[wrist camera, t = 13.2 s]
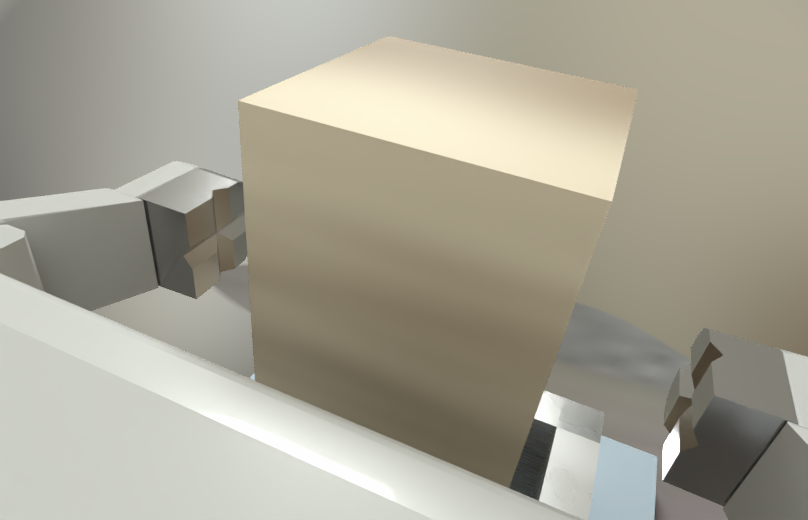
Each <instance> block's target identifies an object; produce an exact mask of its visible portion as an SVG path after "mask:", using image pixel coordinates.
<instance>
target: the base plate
mask: <svg viewBox="0 0 808 520" xmlns="http://www.w3.org/2000/svg"><path fill="white" fill-rule="evenodd" d="M250 379H252V380H254V381H255V373H254V374H253V375H252V376H251V377H250ZM656 471H657V456H654V455H651V454H649V453H646V452H644V451H641V450H638V449H636V448H633V447H630V446H628V445H625V444H623V443H620V442H617V441H615V440H612V439H610V438H607V437H604V436H602V435H601V441H600V448H599V454H598V461H597V467H596V474H595V480H594V487H593V493H592V500H591V506H590V513H589V519H588V520H654V515H655V493H656Z"/></svg>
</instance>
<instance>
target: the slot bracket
mask: <svg viewBox="0 0 808 520" xmlns="http://www.w3.org/2000/svg"><path fill="white" fill-rule="evenodd" d="M604 415H605V413H603V412H601V411H598V410H595V409H593V408H590V407H587V406H584V405H582V404H579V403H576V402H574V401H571V400H568V399H566V398H563V397H560V396H557V395H555V394H552V393H549V392H547V391H544V392H543V395H542V398H541V401H540V403H539V406H538V409H537V412H536V414H535V417H534V420H533V423H532V426H531V428H530V431H529V434H528V437H527V439H526V442H525V445H524V448H523V451H522V453H521V456H520V459H519V462H518V465H517V467H516V470H515V473H514V476H513V478H512V481H511V484H510V487H509V488H510V489H512V490H515V491H517V492H519V493H522V494H524V495H526V496H529V497H531V498H533V499H536V500H538V501H540V502H543V503H545V504H548V505H550V506H552V507H555V508H557V509H559V510H562V511H564V512H566V513H569V514H571V515H573V516H576V517H578V518H581V519H583V520H588V519H589V513H590V506H591V500H592V493H593V487H594V480H595V474H596V467H597V461H598V454H599V448H600V441H601V435H602V428H603V422H604Z"/></svg>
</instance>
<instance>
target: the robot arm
mask: <svg viewBox="0 0 808 520" xmlns="http://www.w3.org/2000/svg"><path fill="white" fill-rule="evenodd" d="M246 256H247V241H246V225H245V208H244V192H243V182H242V181H239V180H236V179H233V178H230V177H227V176H225V175H221V174H219V173H216V172H213V171H210V170H207V169H203V168H201V167H198V166H195V165H192V164H188V163H185V162H179V161H173V162H171V163H169V164H167V165H165V166H163V167H161V168H159V169H157V170H155V171H153V172H151V173H149V174H146V175H144V176H142V177H140V178H138V179H136V180H134V181H132V182H130V183H128V184H126V185H124V186H122V187H120V188H117V189H116V190H112V189H109V188H104V189H96V190H88V191H80V192H72V193H63V194H55V195H48V196H39V197H31V198H23V199H15V200H7V201H0V520H583V519H581V518H578V517H576V516H573V515H571V514H569V513H566V512H564V511H562V510H559V509H557V508H555V507H552V506H550V505H548V504H545V503H543V502H540V501H538V500H536V499H533V498H531V497H529V496H526V495H524V494H522V493H519V492H517V491H515V490H512V489H510V488H508V487H505V486H503V485H500V484H498V483H496V482H493V481H491V480H489V479H486V478H484V477H482V476H479V475H477V474H475V473H472V472H470V471H467V470H465V469H463V468H460V467H458V466H456V465H453V464H451V463H449V462H446V461H444V460H442V459H439V458H437V457H434V456H432V455H430V454H427V453H425V452H423V451H420V450H418V449H416V448H413V447H411V446H409V445H406V444H404V443H401V442H399V441H397V440H394V439H392V438H390V437H387V436H385V435H383V434H380V433H378V432H376V431H373V430H371V429H368V428H366V427H364V426H361V425H359V424H357V423H354V422H352V421H349V420H347V419H345V418H342V417H340V416H338V415H335V414H333V413H330V412H328V411H326V410H323V409H321V408H319V407H316V406H314V405H311V404H309V403H307V402H304V401H302V400H300V399H297V398H295V397H292V396H290V395H288V394H285V393H283V392H281V391H278V390H276V389H273V388H271V387H269V386H266V385H264V384H261V383H259V382H257V381H254V380H252V379H250V378H247V377H245V376H242V375H240V374H238V373H235V372H233V371H230V370H228V369H226V368H223V367H221V366H219V365H216V364H214V363H212V362H209V361H207V360H204V359H202V358H200V357H197V356H195V355H193V354H190V353H188V352H186V351H183V350H181V349H178V348H176V347H174V346H171V345H169V344H166V343H164V342H162V341H159V340H157V339H154V338H152V337H150V336H148V335H145V334H143V333H141V332H138V331H136V330H133V329H131V328H129V327H126V326H124V325H122V324H119V323H117V322H114V321H112V320H110V319H107V318H105V317H102V316H100V315H98V314H96V313H93V312H91V311H93V310H96V309H98V308H101V307H104V306H107V305H110V304H113V303H116V302H119V301H122V300H124V299H127V298H130V297H133V296H136V295H139V294H141V293H145V292H147V291H150V290H153V289H156V288H158V286H161V287H164V288H167V289H169V290H172V291H175V292H178V293H181V294H183V295H186V296H189V297H192V298H195V299H197V298H198V297H199V296H201V295H202V294H203V293H205V292H206V291H207V290H208V289H210V288H211V287H212V286H214V285H215V284H216V283H217V282H219V281H220V273H221V272H222V271H226V270H230V269H234V268H236V267H237V266H238V265H239V264H241V263H242V262H243V261H244V260H245V258H246ZM664 425H665V427H666V428H667V430H668V431H669V433H670V435H669V437H668V438H667V440H666V442H665V444H664V446H663V473H662V481H664V482H667V483H669V484H671V485H674V486H676V487H679V488H681V489H683V490H686V491H688V492H691V493H693V494H695V495H698V496H700V497H703V498H705V499H707V500H710V501H712V502H715V503H717V504H719V505H722V506H724V508H723V510H724V512H725V514H726V515H727V517H728V519H729V520H808V357H806V356H802V355H799V354H795V353H792V352H788V351H784V350H781V349H776V348H773V347H769V346H766V345H762V344H759V343H756V342H752V341H749V340H745V339H742V338H738V337H735V336H731V335H728V334H725V333H721V332H718V331H714V330H711V329H707V328H703V329H702V331H701V332H700V333H699V334H698V336H697V338H696V339H695V341H694V343H693V345H692V347H691V364H689V365H686V366H684V367H682V368H680V369H679V371H678V373H677V375H676V377H675V379H674V381H673V383H672V386H671V388H670V391H669V394H668V397H667V401H666V406H665V412H664Z"/></svg>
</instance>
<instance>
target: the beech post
mask: <svg viewBox="0 0 808 520" xmlns="http://www.w3.org/2000/svg"><path fill="white" fill-rule="evenodd" d="M637 94H638V90H637V89H633V88H628V87H624V86H619V85H614V84H609V83H605V82H601V81H596V80H591V79H586V78H582V77H577V76H573V75H568V74H563V73H559V72H554V71H549V70H544V69H540V68H536V67H531V66H526V65H521V64H517V63H512V62H508V61H503V60H498V59H494V58H489V57H484V56H479V55H475V54H471V53H466V52H461V51H456V50H451V49H447V48H442V47H438V46H433V45H429V44H424V43H419V42H415V41H410V40H405V39H401V38H396V37H391V36H387V37H384V38H382V39H380V40H378V41H375V42H373V43H370V44H368V45H366V46H364V47H361V48H359V49H357V50H354V51H352V52H350V53H347V54H345V55H343V56H340V57H338V58H336V59H333V60H331V61H329V62H326V63H324V64H322V65H320V66H317V67H315V68H312V69H310V70H308V71H305V72H303V73H301V74H299V75H297V76H294V77H292V78H289V79H287V80H285V81H282V82H280V83H278V84H275V85H273V86H271V87H268V88H266V89H264V90H261V91H259V92H257V93H255V94H252V95H250V96H247V97H245V98H243V99H240V100H238V109H239V126H240V142H241V158H242V174H243V192H244V208H245V225H246V241H247V257H248V274H249V290H250V307H251V323H252V338H253V356H254V372H255V381H257V382H259V383H261V384H264V385H266V386H269V387H271V388H273V389H276V390H278V391H281V392H283V393H285V394H288V395H290V396H292V397H295V398H297V399H300V400H302V401H304V402H307V403H309V404H311V405H314V406H316V407H319V408H321V409H323V410H326V411H328V412H330V413H333V414H335V415H338V416H340V417H342V418H345V419H347V420H349V421H352V422H354V423H357V424H359V425H361V426H364V427H366V428H368V429H371V430H373V431H376V432H378V433H380V434H383V435H385V436H387V437H390V438H392V439H394V440H397V441H399V442H401V443H404V444H406V445H409V446H411V447H413V448H416V449H418V450H420V451H423V452H425V453H427V454H430V455H432V456H434V457H437V458H439V459H442V460H444V461H446V462H449V463H451V464H453V465H456V466H458V467H460V468H463V469H465V470H467V471H470V472H472V473H475V474H477V475H479V476H482V477H484V478H486V479H489V480H491V481H493V482H496V483H498V484H500V485H503V486H505V487H508V488H509V487H510V484H511V481H512V478H513V476H514V473H515V470H516V467H517V465H518V462H519V459H520V456H521V453H522V451H523V448H524V445H525V442H526V439H527V437H528V434H529V431H530V428H531V426H532V423H533V420H534V417H535V414H536V412H537V409H538V406H539V403H540V401H541V398H542V395H543V392H544V389H545V387H546V384H547V381H548V378H549V376H550V373H551V370H552V367H553V364H554V362H555V359H556V356H557V353H558V350H559V348H560V345H561V342H562V339H563V337H564V334H565V331H566V328H567V325H568V323H569V320H570V317H571V314H572V312H573V309H574V306H575V303H576V300H577V298H578V295H579V292H580V289H581V286H582V283H583V281H584V278H585V275H586V272H587V270H588V267H589V264H590V261H591V258H592V256H593V253H594V250H595V248H596V245H597V242H598V239H599V236H600V234H601V231H602V228H603V225H604V223H605V220H606V217H607V214H608V211H609V209H610V206H611V203H612V200H613V195H614V190H615V187H616V183H617V178H618V174H619V170H620V166H621V162H622V157H623V153H624V149H625V144H626V140H627V136H628V132H629V127H630V124H631V119H632V115H633V111H634V106H635V102H636V98H637Z"/></svg>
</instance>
